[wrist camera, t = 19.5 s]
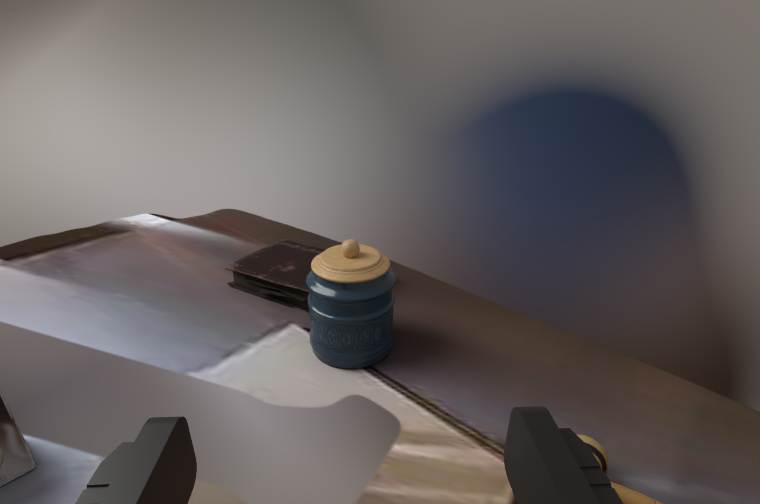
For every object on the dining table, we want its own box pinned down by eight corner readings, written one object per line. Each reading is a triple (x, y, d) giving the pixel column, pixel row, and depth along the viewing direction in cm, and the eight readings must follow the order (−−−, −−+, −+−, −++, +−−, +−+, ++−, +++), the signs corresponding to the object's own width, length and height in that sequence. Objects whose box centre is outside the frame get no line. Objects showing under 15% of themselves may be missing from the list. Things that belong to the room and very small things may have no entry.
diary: (287, 256, 97) (286, 236, 95) (382, 282, 87) (383, 260, 85) (224, 289, 82) (221, 266, 80) (330, 326, 72) (329, 300, 70)
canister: (292, 350, 65) (283, 244, 57) (344, 312, 75) (342, 218, 67) (361, 383, 58) (360, 269, 51) (408, 337, 68) (413, 236, 61)
